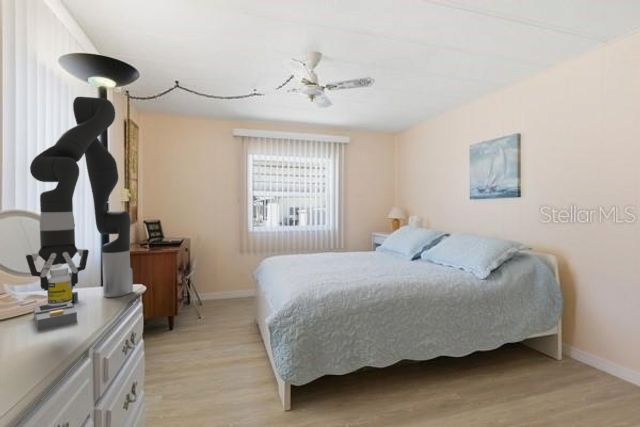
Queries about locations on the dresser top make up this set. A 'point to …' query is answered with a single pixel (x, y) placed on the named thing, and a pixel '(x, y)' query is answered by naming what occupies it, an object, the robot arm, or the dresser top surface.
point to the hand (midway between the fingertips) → (59, 287)
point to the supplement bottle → (59, 287)
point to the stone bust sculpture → (73, 293)
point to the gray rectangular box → (54, 315)
